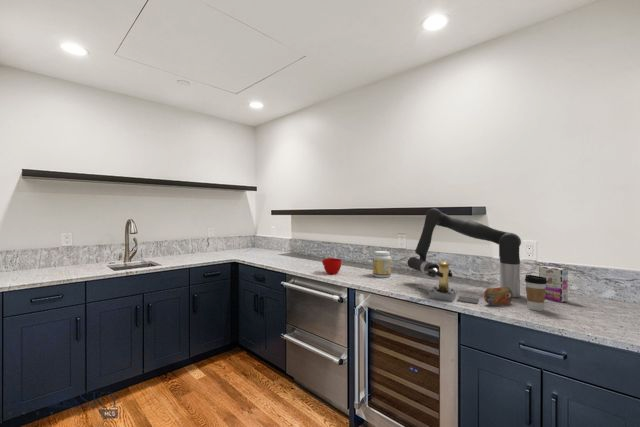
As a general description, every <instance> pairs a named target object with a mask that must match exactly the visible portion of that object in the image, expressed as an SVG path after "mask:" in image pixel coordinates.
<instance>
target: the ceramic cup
mask: <svg viewBox="0 0 640 427" xmlns="http://www.w3.org/2000/svg"><path fill="white" fill-rule="evenodd" d="M321 263H322V265H323V268H324V270H325V273H327V274H328V275H337V274H338V273H339V271H341V268H342V267H341V266H342V259H340V258H331V257H329V258H323V260H322V262H321Z"/></svg>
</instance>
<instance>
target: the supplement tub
mask: <svg viewBox="0 0 640 427" xmlns="http://www.w3.org/2000/svg"><path fill="white" fill-rule="evenodd" d="M373 253H374V255H373V256H372V276H373V277H375V278H379V279H380V278H381V279H382V278H383V279H385V278H390V277H391V274H392V271H391V270H392V258H391V256H390V255H391V254H390V253H391V252H390V251H387V250H376V251H374V252H373Z"/></svg>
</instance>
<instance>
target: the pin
mask: <svg viewBox="0 0 640 427" xmlns="http://www.w3.org/2000/svg"><path fill="white" fill-rule="evenodd" d="M437 265H438V266H439V272H441V273H443V277H439V276H438V288H439V292H446V293H448V291H449V289H450V288H449V282H450V281H449V278H450V277H449V270H450V266H451V262H448V261H438V262H437Z"/></svg>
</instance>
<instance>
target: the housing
mask: <svg viewBox="0 0 640 427" xmlns="http://www.w3.org/2000/svg"><path fill="white" fill-rule="evenodd" d="M455 298H456V289H454V288H449V291H448V293H446V292H439V287H437V286H434V287H432V288H431V289H430V290H429V291H428V299H431V300H439V301H444V300H445V302H451V301H452V302H453V301H454V300H455Z"/></svg>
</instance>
